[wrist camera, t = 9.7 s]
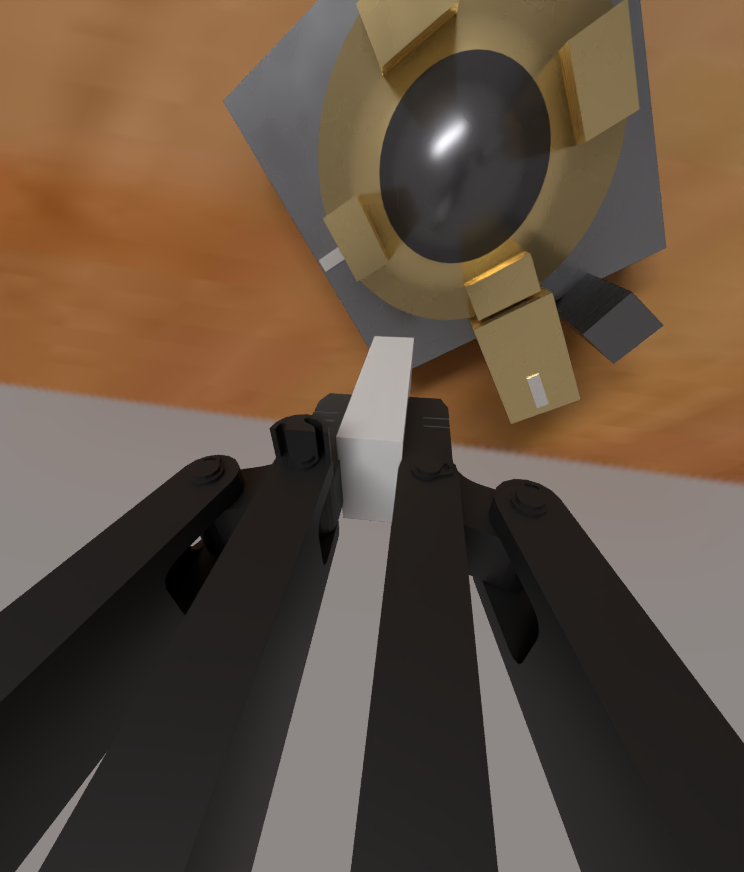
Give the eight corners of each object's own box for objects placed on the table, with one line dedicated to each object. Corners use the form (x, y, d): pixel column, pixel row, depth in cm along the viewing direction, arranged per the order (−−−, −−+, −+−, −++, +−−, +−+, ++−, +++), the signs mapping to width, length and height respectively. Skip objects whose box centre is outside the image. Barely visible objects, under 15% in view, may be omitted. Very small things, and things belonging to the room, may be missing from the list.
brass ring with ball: (288, 119, 13) (245, 93, 10) (550, -118, 10) (617, -280, 6) (438, 409, 20) (441, 449, 17) (626, 333, 17) (677, 366, 13)
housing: (565, -193, 11) (726, -626, 5) (636, 279, 18) (736, 316, 12) (252, 116, 16) (161, 70, 10) (405, 385, 23) (400, 445, 18)
